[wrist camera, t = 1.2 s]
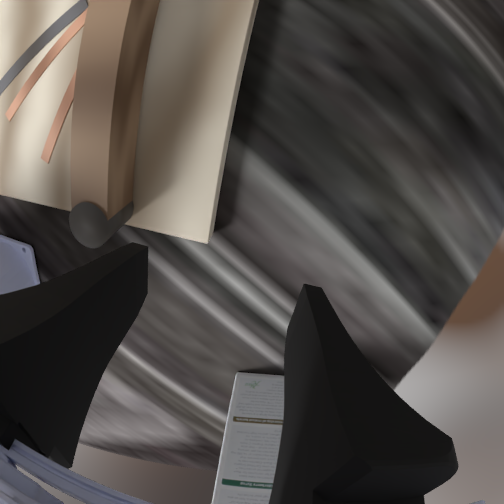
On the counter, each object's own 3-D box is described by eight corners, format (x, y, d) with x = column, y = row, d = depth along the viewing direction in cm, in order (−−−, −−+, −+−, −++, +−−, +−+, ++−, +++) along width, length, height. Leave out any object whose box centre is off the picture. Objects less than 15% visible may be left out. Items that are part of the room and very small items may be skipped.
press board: (0, 185, 20) (-13, 192, 19) (23, -36, 10) (10, -39, 9) (213, 233, 20) (207, 244, 19) (277, -69, 10) (275, -81, 9)
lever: (133, -67, 9) (107, -86, 6) (192, -73, 9) (173, -97, 6) (92, 217, 18) (64, 240, 16) (140, 229, 18) (116, 255, 16)
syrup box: (234, 370, 27) (200, 525, 14) (302, 375, 26) (293, 535, 13) (236, 404, 29) (210, 536, 17) (295, 409, 29) (284, 544, 16)
